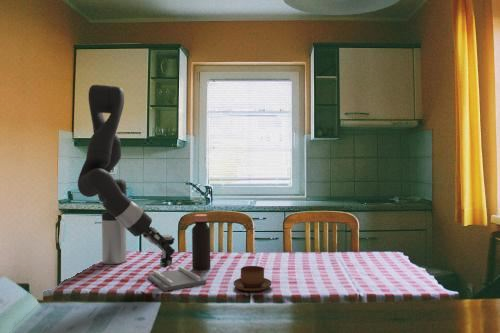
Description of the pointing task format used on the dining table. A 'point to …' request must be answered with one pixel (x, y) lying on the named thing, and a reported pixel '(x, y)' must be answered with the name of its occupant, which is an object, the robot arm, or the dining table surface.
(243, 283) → the cup and saucer
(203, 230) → the bottle
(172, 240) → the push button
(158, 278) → the rail plate
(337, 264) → the dining table surface
